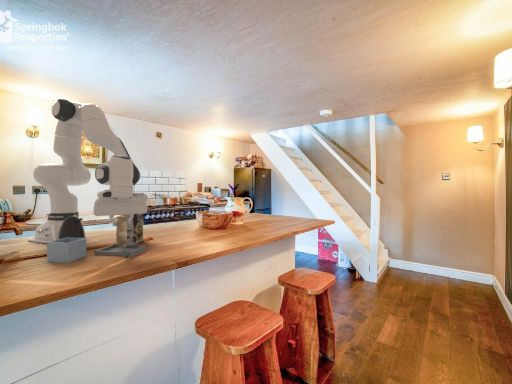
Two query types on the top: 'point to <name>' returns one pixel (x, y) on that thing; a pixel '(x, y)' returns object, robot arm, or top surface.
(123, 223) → the dowel
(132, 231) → the coffee box
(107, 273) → the top surface
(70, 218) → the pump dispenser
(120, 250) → the tray
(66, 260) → the slate blue storage bin
